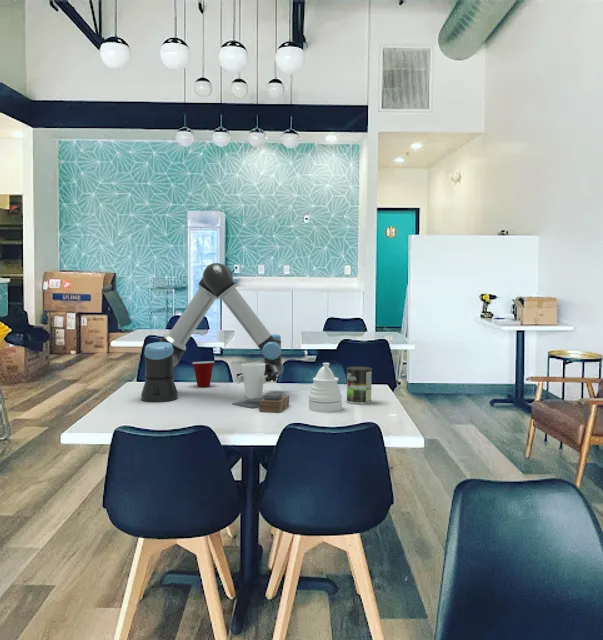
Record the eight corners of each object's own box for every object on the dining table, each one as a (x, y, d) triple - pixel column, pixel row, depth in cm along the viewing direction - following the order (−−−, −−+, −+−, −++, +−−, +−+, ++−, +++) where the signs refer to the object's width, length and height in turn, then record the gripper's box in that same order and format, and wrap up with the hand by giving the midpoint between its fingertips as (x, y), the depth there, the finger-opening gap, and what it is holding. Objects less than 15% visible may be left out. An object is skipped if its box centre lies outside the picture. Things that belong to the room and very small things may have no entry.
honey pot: (344, 411, 232) (345, 364, 232) (311, 412, 231) (311, 365, 230) (338, 405, 245) (338, 360, 244) (306, 406, 243) (306, 360, 242)
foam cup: (237, 396, 248) (237, 364, 247) (257, 393, 253) (256, 362, 253) (250, 399, 240) (249, 366, 240) (269, 396, 246) (269, 364, 245)
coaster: (252, 408, 239) (252, 406, 239) (232, 404, 247) (232, 402, 247) (274, 404, 247) (274, 402, 247) (254, 400, 256) (254, 398, 255)
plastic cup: (207, 383, 300) (207, 359, 299) (219, 386, 292) (219, 361, 291) (187, 386, 293) (187, 361, 292) (199, 388, 285) (198, 363, 284)
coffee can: (355, 405, 245) (355, 370, 244) (341, 401, 254) (341, 367, 253) (376, 402, 250) (376, 368, 249) (362, 398, 259) (362, 365, 258)
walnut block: (279, 412, 231) (279, 396, 230) (259, 411, 232) (259, 395, 232) (289, 405, 244) (289, 390, 244) (269, 404, 246) (269, 389, 246)
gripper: (291, 382, 262) (277, 390, 240) (242, 380, 267) (224, 389, 245) (291, 364, 261) (276, 371, 239) (242, 363, 266) (223, 370, 245)
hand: (250, 380), depth 242 cm, fingers closed on foam cup, 9 cm apart
